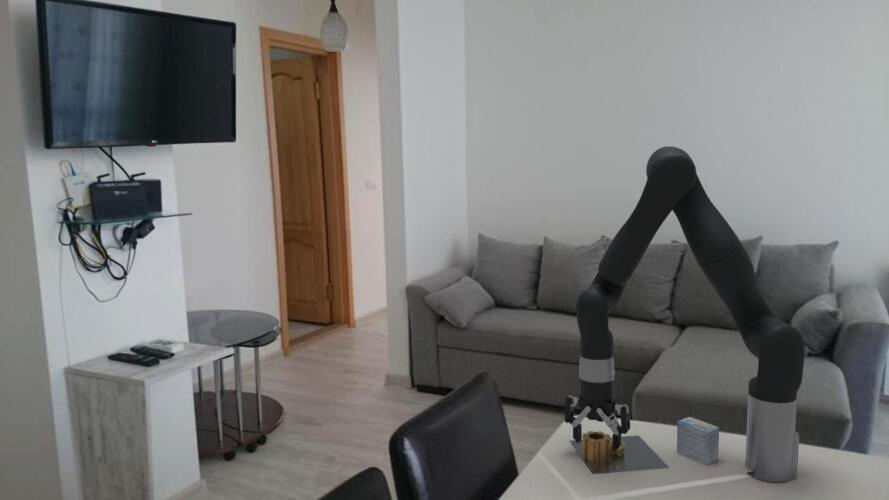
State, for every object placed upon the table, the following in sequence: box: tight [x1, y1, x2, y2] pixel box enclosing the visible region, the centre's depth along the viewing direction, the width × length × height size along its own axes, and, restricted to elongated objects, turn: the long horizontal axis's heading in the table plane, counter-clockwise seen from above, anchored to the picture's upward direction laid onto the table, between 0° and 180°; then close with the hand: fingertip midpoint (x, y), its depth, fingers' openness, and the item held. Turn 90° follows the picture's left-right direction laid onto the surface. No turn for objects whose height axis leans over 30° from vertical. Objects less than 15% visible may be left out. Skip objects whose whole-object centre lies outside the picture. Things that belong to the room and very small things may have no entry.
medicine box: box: [676, 416, 720, 465], centre depth 155 cm, size 8×4×9 cm, turn 34°
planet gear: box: [582, 430, 611, 464], centre depth 155 cm, size 6×6×5 cm
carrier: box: [569, 434, 670, 475], centre depth 157 cm, size 17×17×5 cm
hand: (596, 445), depth 155 cm, fingers open, 8 cm apart
